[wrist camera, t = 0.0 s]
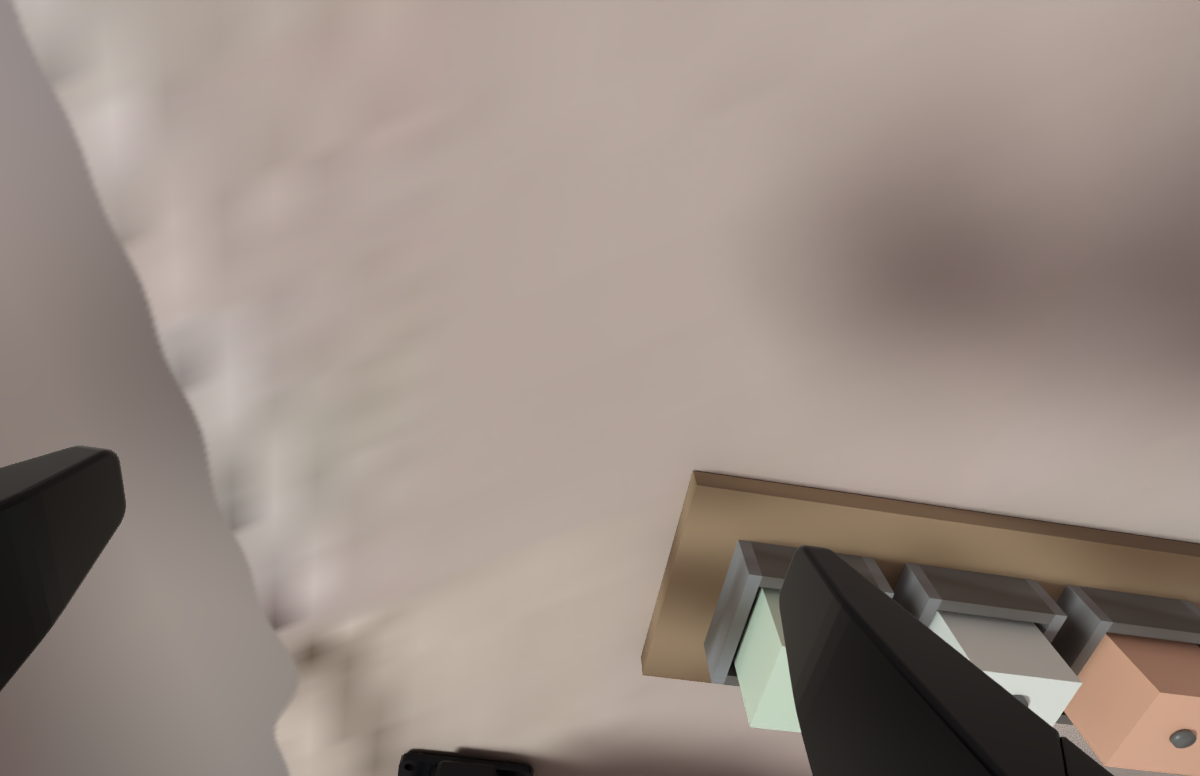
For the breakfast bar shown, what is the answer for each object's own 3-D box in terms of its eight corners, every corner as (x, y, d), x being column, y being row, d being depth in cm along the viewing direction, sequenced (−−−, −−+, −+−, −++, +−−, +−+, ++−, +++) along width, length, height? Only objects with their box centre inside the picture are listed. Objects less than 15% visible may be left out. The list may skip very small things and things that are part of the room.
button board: (1126, 714, 32) (1176, 773, 29) (641, 656, 30) (646, 714, 27) (1247, 551, 28) (1317, 602, 25) (692, 470, 26) (705, 517, 23)
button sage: (828, 672, 27) (856, 743, 24) (733, 660, 27) (751, 732, 24) (861, 597, 25) (896, 664, 23) (761, 584, 25) (783, 651, 22)
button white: (988, 691, 28) (1034, 763, 25) (897, 680, 27) (934, 752, 25) (1031, 619, 26) (1086, 687, 23) (935, 607, 26) (979, 674, 23)
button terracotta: (1141, 709, 28) (1204, 781, 26) (1054, 699, 28) (1108, 770, 25) (1192, 640, 27) (1265, 709, 24) (1101, 628, 26) (1164, 697, 23)
